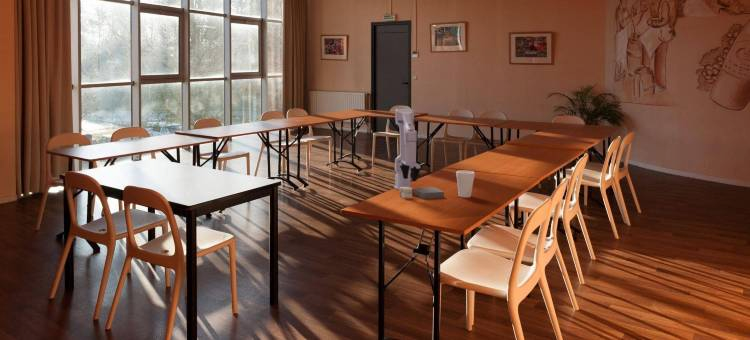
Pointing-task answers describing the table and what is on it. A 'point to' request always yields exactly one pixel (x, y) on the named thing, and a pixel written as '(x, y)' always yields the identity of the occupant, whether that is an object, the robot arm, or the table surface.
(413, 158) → the robot arm
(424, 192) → the charcoal plinth
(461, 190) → the foam cup
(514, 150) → the table surface
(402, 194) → the cream cube
